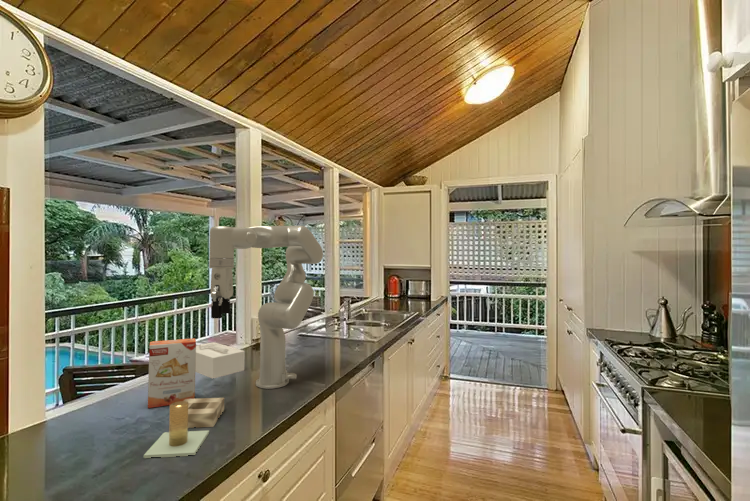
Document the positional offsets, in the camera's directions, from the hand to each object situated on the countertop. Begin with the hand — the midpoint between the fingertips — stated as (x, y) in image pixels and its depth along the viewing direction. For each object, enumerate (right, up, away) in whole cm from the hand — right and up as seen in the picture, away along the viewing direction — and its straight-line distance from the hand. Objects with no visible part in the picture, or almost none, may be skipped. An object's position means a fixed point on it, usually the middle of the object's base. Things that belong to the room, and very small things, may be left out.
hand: (220, 315), depth 125 cm
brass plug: (-1, -29, -25) cm, 38 cm away
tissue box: (-20, -31, +42) cm, 56 cm away
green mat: (-1, -30, -24) cm, 39 cm away
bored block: (-3, -30, -9) cm, 32 cm away
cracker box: (-18, -30, +4) cm, 35 cm away
